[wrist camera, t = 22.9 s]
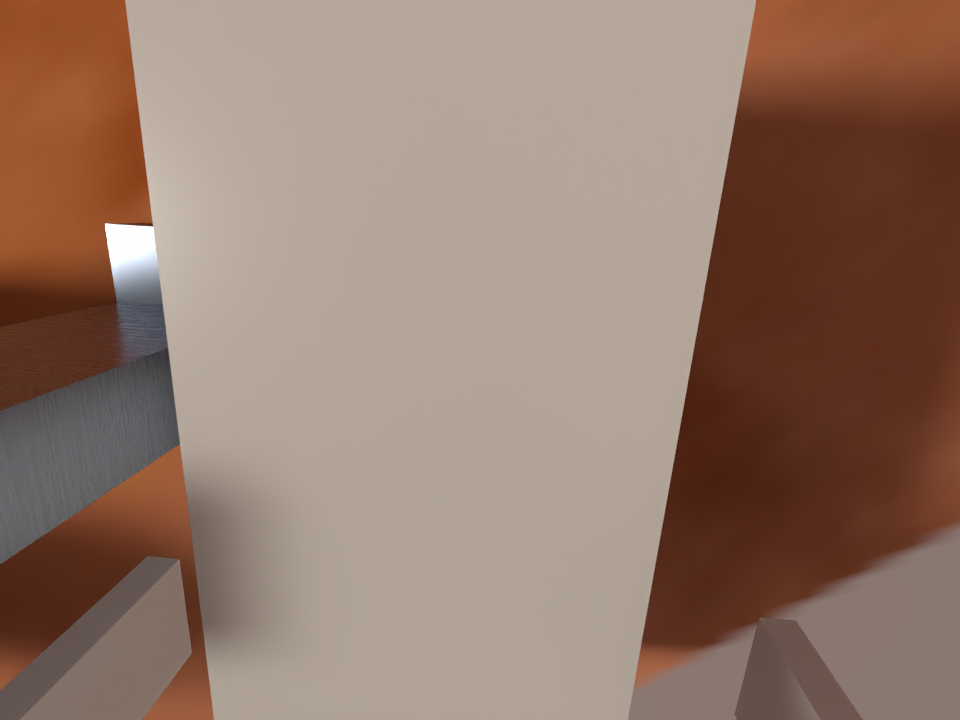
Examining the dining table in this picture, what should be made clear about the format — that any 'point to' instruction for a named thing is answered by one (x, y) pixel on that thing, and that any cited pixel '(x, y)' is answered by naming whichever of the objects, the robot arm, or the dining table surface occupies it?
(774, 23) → the dining table surface
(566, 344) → the white block
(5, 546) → the blue-grey arch stand
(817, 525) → the dining table surface
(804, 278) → the dining table surface
